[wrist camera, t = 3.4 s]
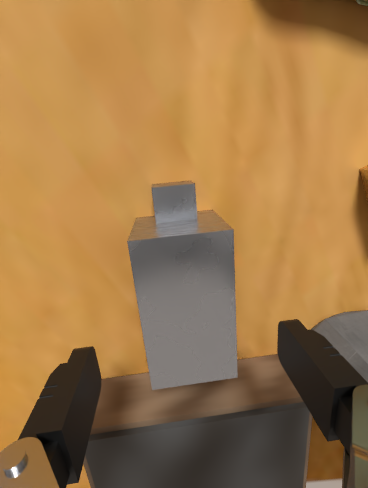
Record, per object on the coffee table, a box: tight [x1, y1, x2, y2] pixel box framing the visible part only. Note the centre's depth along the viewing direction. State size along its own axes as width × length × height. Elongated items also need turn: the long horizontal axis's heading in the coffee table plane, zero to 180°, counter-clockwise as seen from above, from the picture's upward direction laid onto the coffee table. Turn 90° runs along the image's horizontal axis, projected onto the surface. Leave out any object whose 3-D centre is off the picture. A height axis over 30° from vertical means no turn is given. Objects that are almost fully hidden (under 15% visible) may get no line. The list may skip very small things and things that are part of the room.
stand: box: [83, 354, 312, 488], centre depth 20 cm, size 16×10×4 cm, turn 95°
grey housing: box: [127, 181, 238, 390], centre depth 16 cm, size 5×13×5 cm, turn 5°
